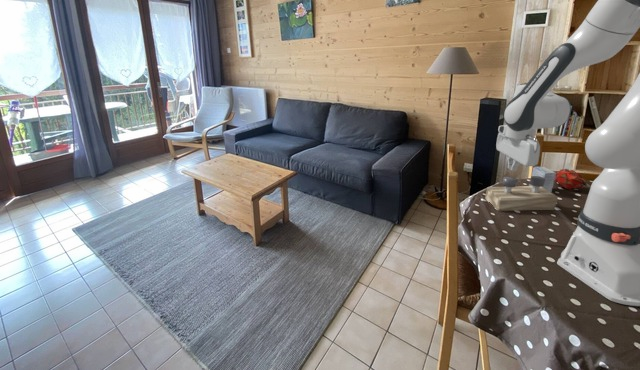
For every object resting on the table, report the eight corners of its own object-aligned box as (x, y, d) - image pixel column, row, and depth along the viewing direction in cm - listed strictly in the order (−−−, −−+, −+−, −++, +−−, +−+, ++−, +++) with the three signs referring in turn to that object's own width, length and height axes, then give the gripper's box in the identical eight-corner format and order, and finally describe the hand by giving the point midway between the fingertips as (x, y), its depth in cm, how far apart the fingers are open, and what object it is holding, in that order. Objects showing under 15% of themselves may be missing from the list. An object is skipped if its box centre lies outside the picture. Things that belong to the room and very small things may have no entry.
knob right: (543, 198, 116) (548, 180, 113) (531, 199, 116) (535, 180, 113) (535, 193, 120) (540, 175, 117) (524, 194, 120) (528, 176, 117)
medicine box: (551, 193, 127) (556, 173, 124) (539, 193, 127) (545, 173, 124) (539, 185, 134) (544, 166, 131) (528, 185, 135) (533, 166, 131)
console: (554, 209, 114) (558, 196, 112) (498, 210, 115) (500, 197, 113) (537, 197, 124) (540, 185, 122) (485, 198, 124) (487, 187, 122)
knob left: (515, 199, 116) (519, 180, 113) (503, 199, 116) (507, 181, 113) (509, 194, 120) (513, 176, 117) (497, 194, 120) (501, 176, 117)
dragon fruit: (550, 185, 138) (579, 199, 129) (544, 178, 133) (574, 192, 124) (564, 169, 137) (594, 182, 127) (559, 161, 132) (590, 174, 122)
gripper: (549, 139, 99) (538, 180, 104) (513, 125, 118) (505, 160, 123) (529, 139, 99) (519, 180, 105) (496, 125, 118) (489, 161, 123)
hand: (511, 169), depth 114 cm, fingers closed
